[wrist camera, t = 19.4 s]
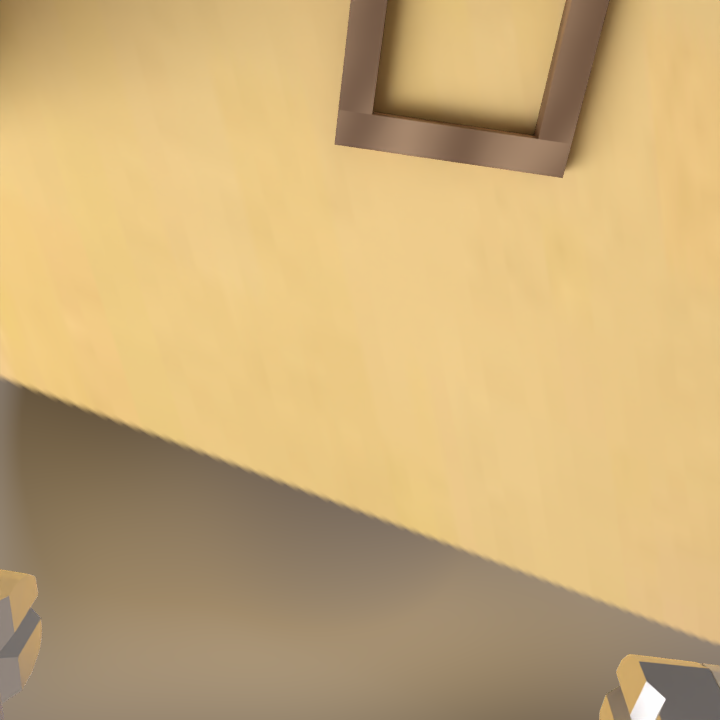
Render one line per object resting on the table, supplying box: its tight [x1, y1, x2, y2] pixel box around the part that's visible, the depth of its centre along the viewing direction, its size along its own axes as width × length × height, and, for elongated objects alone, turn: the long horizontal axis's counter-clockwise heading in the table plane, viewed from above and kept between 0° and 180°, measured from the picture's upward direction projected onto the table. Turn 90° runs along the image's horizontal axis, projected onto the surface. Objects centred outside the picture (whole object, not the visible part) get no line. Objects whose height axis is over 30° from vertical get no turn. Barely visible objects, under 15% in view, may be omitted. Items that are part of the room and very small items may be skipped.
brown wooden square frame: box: [335, 0, 609, 178], centre depth 38 cm, size 14×14×2 cm
